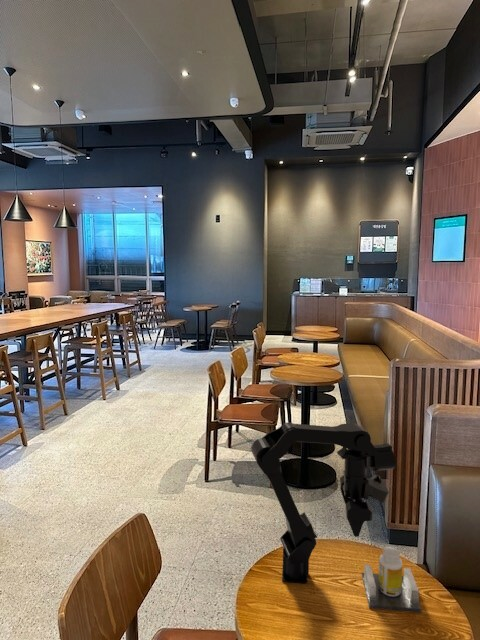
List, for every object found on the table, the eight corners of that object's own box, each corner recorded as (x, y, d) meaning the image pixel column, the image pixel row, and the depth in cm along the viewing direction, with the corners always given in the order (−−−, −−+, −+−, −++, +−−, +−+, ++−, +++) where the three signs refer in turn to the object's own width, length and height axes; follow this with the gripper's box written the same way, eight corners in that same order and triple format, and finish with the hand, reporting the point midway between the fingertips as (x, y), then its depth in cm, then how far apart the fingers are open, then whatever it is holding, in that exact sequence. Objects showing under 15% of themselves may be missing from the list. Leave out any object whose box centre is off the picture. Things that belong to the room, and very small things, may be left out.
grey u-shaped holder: (421, 612, 102) (421, 595, 101) (369, 608, 103) (369, 591, 103) (408, 580, 113) (409, 564, 112) (362, 576, 114) (362, 560, 114)
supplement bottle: (405, 590, 108) (407, 552, 107) (393, 601, 104) (395, 562, 103) (385, 578, 112) (387, 542, 111) (373, 588, 108) (375, 551, 107)
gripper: (394, 490, 105) (392, 550, 106) (379, 458, 123) (377, 509, 125) (347, 488, 106) (346, 546, 108) (340, 456, 125) (338, 506, 126)
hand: (353, 526), depth 117 cm, fingers open, 9 cm apart
